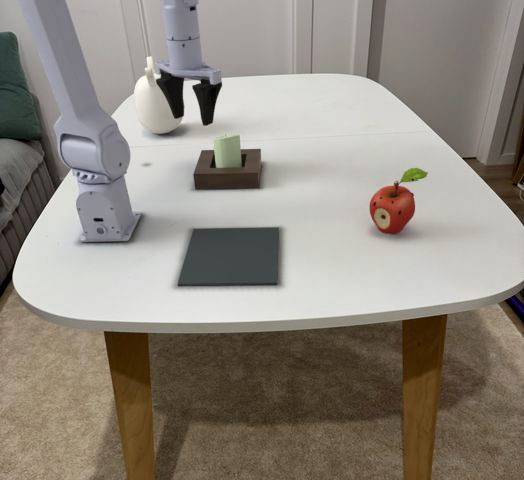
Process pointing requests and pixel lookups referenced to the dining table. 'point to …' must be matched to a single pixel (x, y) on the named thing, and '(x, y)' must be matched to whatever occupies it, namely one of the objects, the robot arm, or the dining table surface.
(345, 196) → the dining table surface
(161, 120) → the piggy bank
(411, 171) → the apple
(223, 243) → the mat
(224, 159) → the candle
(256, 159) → the holder
